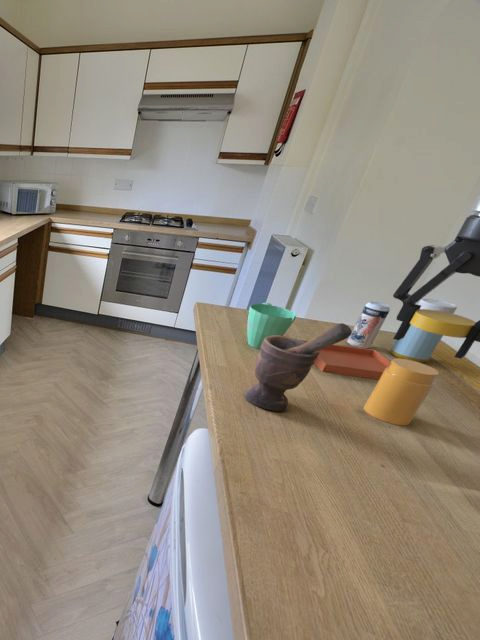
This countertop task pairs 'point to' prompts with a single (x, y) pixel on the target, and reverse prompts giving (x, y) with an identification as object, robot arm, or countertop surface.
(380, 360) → the tray
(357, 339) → the beer can
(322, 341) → the mortar and pestle
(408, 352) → the bottle
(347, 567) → the countertop surface
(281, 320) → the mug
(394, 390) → the jam jar
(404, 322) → the robot arm
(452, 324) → the jar lid
